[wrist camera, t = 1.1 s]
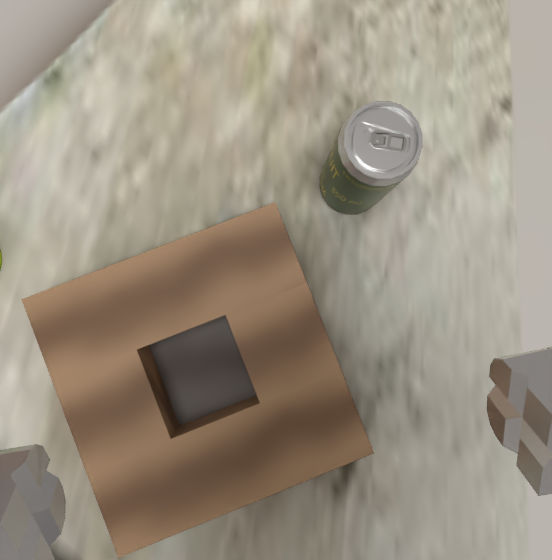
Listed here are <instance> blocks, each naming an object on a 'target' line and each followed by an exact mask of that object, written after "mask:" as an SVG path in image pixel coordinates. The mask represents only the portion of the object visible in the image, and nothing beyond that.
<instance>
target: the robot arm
mask: <svg viewBox="0 0 552 560" xmlns="http://www.w3.org/2000/svg"><path fill="white" fill-rule="evenodd" d="M489 377H490V378H491V379H492V381H493V382H494V383H495V384H496V386H495V387H494V388H493V389H492V391H491V392H490V393H489V394H488V396H487V413H488V417H489V421H490V425H491V427H492V429H493V431H494V433H495V435H496V437H497V438H498V440H499V441H500V443H501V444H502V446H504V447H506V448H508V449H509V450H511V451H513V452H515V453H517V454H518V457H517V467H518V468H519V469H520V471H521V472H522V474H523V475H524V476H525V478H526V479H527V480H528V482H529V483H530V485H531V486H532V487H533V489H534V490H535V491H536V493H537V494H538V496H541V495H547V494H552V347H548V348H546V349H541V350H536V351H530V352H525V353H520V354H515V355H510V356H505V357H500V358H494V360H493V362H492V363H491V365H490V374H489ZM49 461H50V459H49V457H48V455H47V453H46V451H45V449H44V447H43V446H41V445H37V444H35V445H29V446H23V447H16V448H10V449H4V450H0V560H54V556H53V554H52V552H51V550H50V548H49V546H50V545H51V544H52V543H53V542H54V541H55V540H56V539H57V538H58V536H59V535H60V534H61V532H62V528H63V524H64V520H65V504H66V500H65V495H64V491H63V487H62V485H61V482H60V480H59V478H58V477H56V476H54V475H53V474H51V473H49V472H47V471H46V470H47V467H48V464H49Z"/></svg>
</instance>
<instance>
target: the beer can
mask: <svg viewBox="0 0 552 560" xmlns="http://www.w3.org/2000/svg"><path fill="white" fill-rule="evenodd" d="M421 149H422V131H421V128H420V126H419V123H418V121H417V120H416V118H415V117H414V116H413V114H412V113H411V112H410V111H409V110H407V109H406V108H405V107H403V106H402V105H400V104H397V103H394V102H391V101H375V102H372V103H369V104H365V105H364V106H362V107H361V108H359V109H358V110H356V111H355V112H353V113H352V114H351V115H349V117H348V118H347V120H346V121H345V122H344V124H343V125H342V127H341V129H340V131H339V133H338V136H337V138H336V140H335V142H334V145H333V147H332V149H331V151H330V153H329V156H328V158H327V160H326V162H325V164H324V167H323V169H322V172H321V175H320V189H321V192H322V195H323V198H324V199H325V200H326V202H327V203H328V204H329V205H330V206H331V207H332V208H334V209H335V210H337V211H339V212H342V213H345V214H358V213H361V212H364V211H367V210H368V209H370V208H371V207H372V206H374V205H375V204H376V203H377V202H378V201H379V200H381V199H382V198H383V197H384V196H385V195H386V194H387V193H389V192H390V191H391V190H392V189H393V188H394V187H396V186H397V185H398V184H399V183H400V182H401V181H402V180H404V179H405V178H406V177H407V176H408V175H409V174H410V173H411V172H412V170H413V169H414V167H415V166H416V165H417V163H418V160H419V156H420V153H421Z"/></svg>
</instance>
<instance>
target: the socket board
mask: <svg viewBox="0 0 552 560" xmlns="http://www.w3.org/2000/svg"><path fill="white" fill-rule="evenodd" d="M22 302H23V304H24V307H25V310H26V312H27V315H28V318H29V320H30V323H31V326H32V328H33V331H34V334H35V336H36V339H37V342H38V344H39V347H40V350H41V352H42V355H43V358H44V360H45V363H46V366H47V368H48V371H49V374H50V376H51V379H52V382H53V384H54V387H55V390H56V392H57V395H58V398H59V400H60V403H61V406H62V408H63V411H64V414H65V416H66V419H67V422H68V425H69V427H70V430H71V433H72V435H73V438H74V441H75V443H76V446H77V449H78V451H79V454H80V457H81V459H82V462H83V465H84V467H85V470H86V473H87V475H88V478H89V481H90V483H91V486H92V489H93V491H94V494H95V497H96V499H97V502H98V505H99V507H100V510H101V513H102V515H103V518H104V521H105V523H106V526H107V529H108V531H109V534H110V537H111V539H112V542H113V545H114V547H115V550H116V553H117V555H118V558H119V557H121V556H124V555H126V554H129V553H131V552H133V551H136V550H138V549H141V548H143V547H146V546H148V545H151V544H153V543H155V542H158V541H160V540H163V539H165V538H168V537H170V536H173V535H175V534H177V533H180V532H182V531H185V530H187V529H190V528H192V527H195V526H197V525H199V524H202V523H204V522H207V521H209V520H212V519H214V518H217V517H219V516H221V515H224V514H226V513H229V512H231V511H234V510H236V509H239V508H241V507H243V506H246V505H248V504H251V503H253V502H256V501H258V500H260V499H263V498H265V497H268V496H270V495H273V494H275V493H278V492H280V491H282V490H285V489H287V488H290V487H292V486H295V485H297V484H300V483H302V482H304V481H307V480H309V479H312V478H314V477H317V476H319V475H322V474H324V473H326V472H329V471H331V470H334V469H336V468H339V467H341V466H344V465H346V464H348V463H351V462H353V461H356V460H358V459H361V458H363V457H366V456H368V455H370V454H373V453H374V452H373V449H372V447H371V444H370V442H369V439H368V437H367V434H366V432H365V429H364V426H363V424H362V421H361V419H360V416H359V414H358V411H357V409H356V406H355V404H354V401H353V399H352V396H351V393H350V391H349V388H348V386H347V383H346V381H345V378H344V376H343V373H342V371H341V368H340V366H339V363H338V360H337V358H336V355H335V353H334V350H333V348H332V345H331V343H330V340H329V338H328V335H327V333H326V330H325V327H324V325H323V322H322V320H321V317H320V315H319V312H318V310H317V307H316V305H315V302H314V300H313V297H312V294H311V292H310V289H309V287H308V284H307V282H306V279H305V277H304V274H303V272H302V269H301V267H300V264H299V261H298V259H297V256H296V254H295V251H294V249H293V246H292V244H291V241H290V239H289V236H288V234H287V231H286V228H285V226H284V223H283V221H282V218H281V216H280V213H279V211H278V208H277V206H276V203H272V204H269V205H267V206H264V207H262V208H259V209H256V210H254V211H251V212H249V213H246V214H243V215H241V216H238V217H236V218H233V219H230V220H228V221H225V222H223V223H220V224H217V225H215V226H212V227H210V228H207V229H204V230H202V231H199V232H196V233H194V234H191V235H189V236H186V237H183V238H181V239H178V240H176V241H173V242H170V243H168V244H165V245H163V246H160V247H157V248H155V249H152V250H150V251H147V252H144V253H142V254H139V255H137V256H134V257H131V258H129V259H126V260H123V261H121V262H118V263H116V264H113V265H110V266H108V267H105V268H103V269H100V270H97V271H95V272H92V273H90V274H87V275H84V276H82V277H79V278H77V279H74V280H71V281H69V282H66V283H64V284H61V285H58V286H56V287H53V288H50V289H48V290H45V291H43V292H40V293H37V294H35V295H32V296H30V297H27V298H24V299H22Z"/></svg>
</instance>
